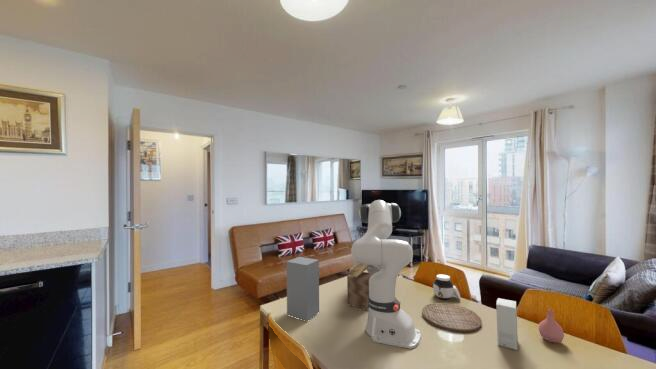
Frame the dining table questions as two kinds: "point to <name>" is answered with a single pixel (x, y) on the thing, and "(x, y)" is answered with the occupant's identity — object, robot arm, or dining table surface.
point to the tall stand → (303, 288)
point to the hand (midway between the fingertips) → (367, 262)
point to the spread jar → (444, 288)
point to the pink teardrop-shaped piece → (551, 329)
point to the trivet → (451, 317)
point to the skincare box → (507, 323)
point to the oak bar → (358, 269)
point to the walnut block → (358, 289)
